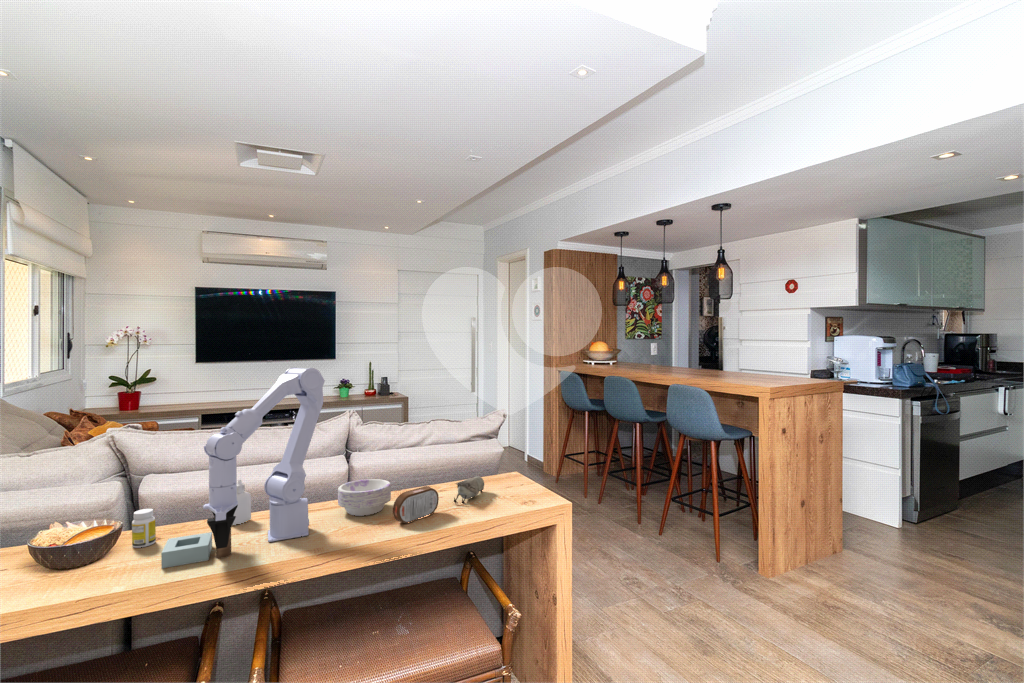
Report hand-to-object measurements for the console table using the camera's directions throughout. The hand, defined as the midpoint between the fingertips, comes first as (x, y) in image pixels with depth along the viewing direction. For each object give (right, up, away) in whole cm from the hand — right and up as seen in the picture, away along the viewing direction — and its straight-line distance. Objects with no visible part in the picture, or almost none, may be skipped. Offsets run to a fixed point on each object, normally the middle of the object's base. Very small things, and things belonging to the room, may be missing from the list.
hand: (223, 541), depth 118 cm
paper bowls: (+25, -3, +30) cm, 39 cm away
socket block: (-8, -3, -1) cm, 9 cm away
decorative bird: (+55, -3, +41) cm, 69 cm away
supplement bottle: (-24, -4, +7) cm, 25 cm away
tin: (+42, -3, +23) cm, 48 cm away
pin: (0, -3, 0) cm, 3 cm away
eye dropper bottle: (-8, -4, +22) cm, 23 cm away
